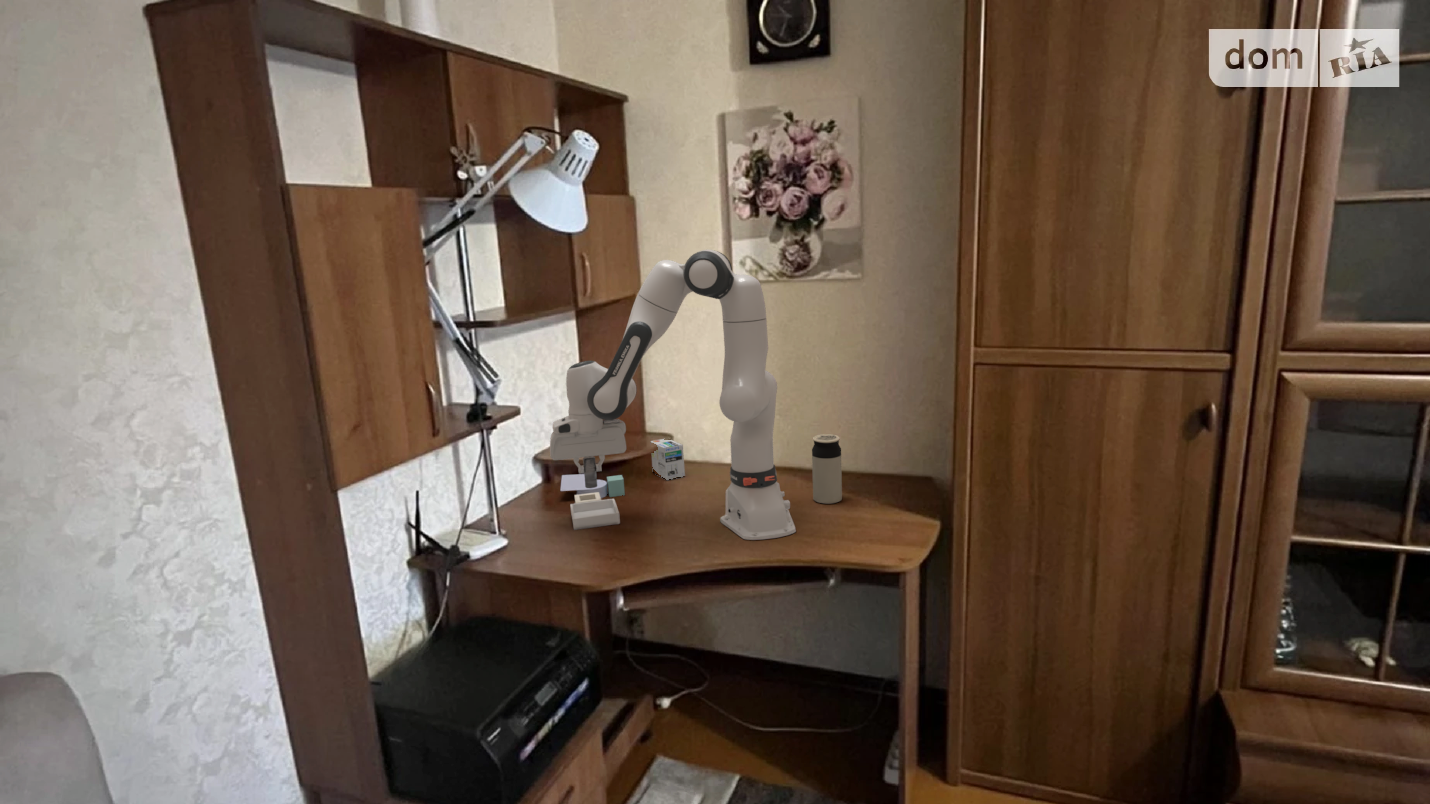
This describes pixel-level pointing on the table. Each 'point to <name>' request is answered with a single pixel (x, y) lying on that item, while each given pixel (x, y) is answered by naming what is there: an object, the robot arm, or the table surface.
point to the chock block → (615, 486)
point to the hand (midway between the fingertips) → (590, 471)
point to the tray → (594, 514)
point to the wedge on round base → (582, 485)
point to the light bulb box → (668, 459)
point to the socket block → (587, 497)
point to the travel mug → (827, 469)
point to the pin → (590, 472)
